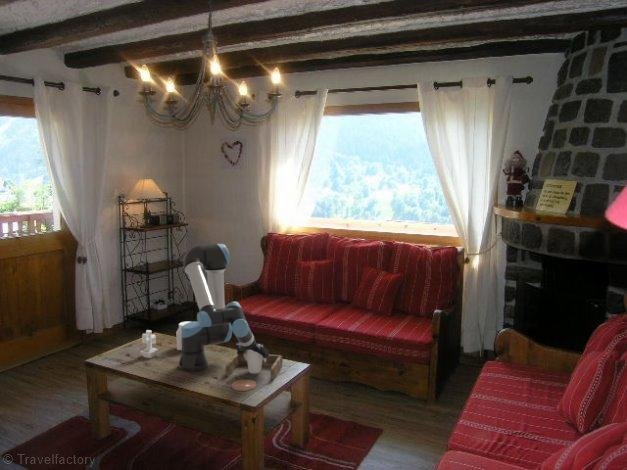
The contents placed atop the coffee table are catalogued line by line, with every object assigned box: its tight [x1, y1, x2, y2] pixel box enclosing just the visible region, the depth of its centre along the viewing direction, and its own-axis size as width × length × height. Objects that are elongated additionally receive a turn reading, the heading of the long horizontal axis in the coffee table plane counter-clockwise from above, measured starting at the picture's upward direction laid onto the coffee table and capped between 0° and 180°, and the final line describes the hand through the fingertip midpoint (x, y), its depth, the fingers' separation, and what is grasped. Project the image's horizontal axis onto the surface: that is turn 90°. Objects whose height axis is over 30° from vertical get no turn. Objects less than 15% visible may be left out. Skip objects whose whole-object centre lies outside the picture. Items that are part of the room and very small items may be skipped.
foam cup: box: [245, 343, 263, 374], centre depth 262 cm, size 10×9×13 cm
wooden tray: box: [225, 352, 283, 381], centre depth 263 cm, size 18×25×6 cm
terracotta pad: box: [231, 378, 257, 392], centre depth 246 cm, size 12×12×1 cm
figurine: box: [140, 329, 160, 359], centre depth 282 cm, size 7×9×15 cm
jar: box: [175, 321, 191, 351], centre depth 295 cm, size 12×10×15 cm
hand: (256, 358), depth 266 cm, fingers closed on foam cup, 9 cm apart
